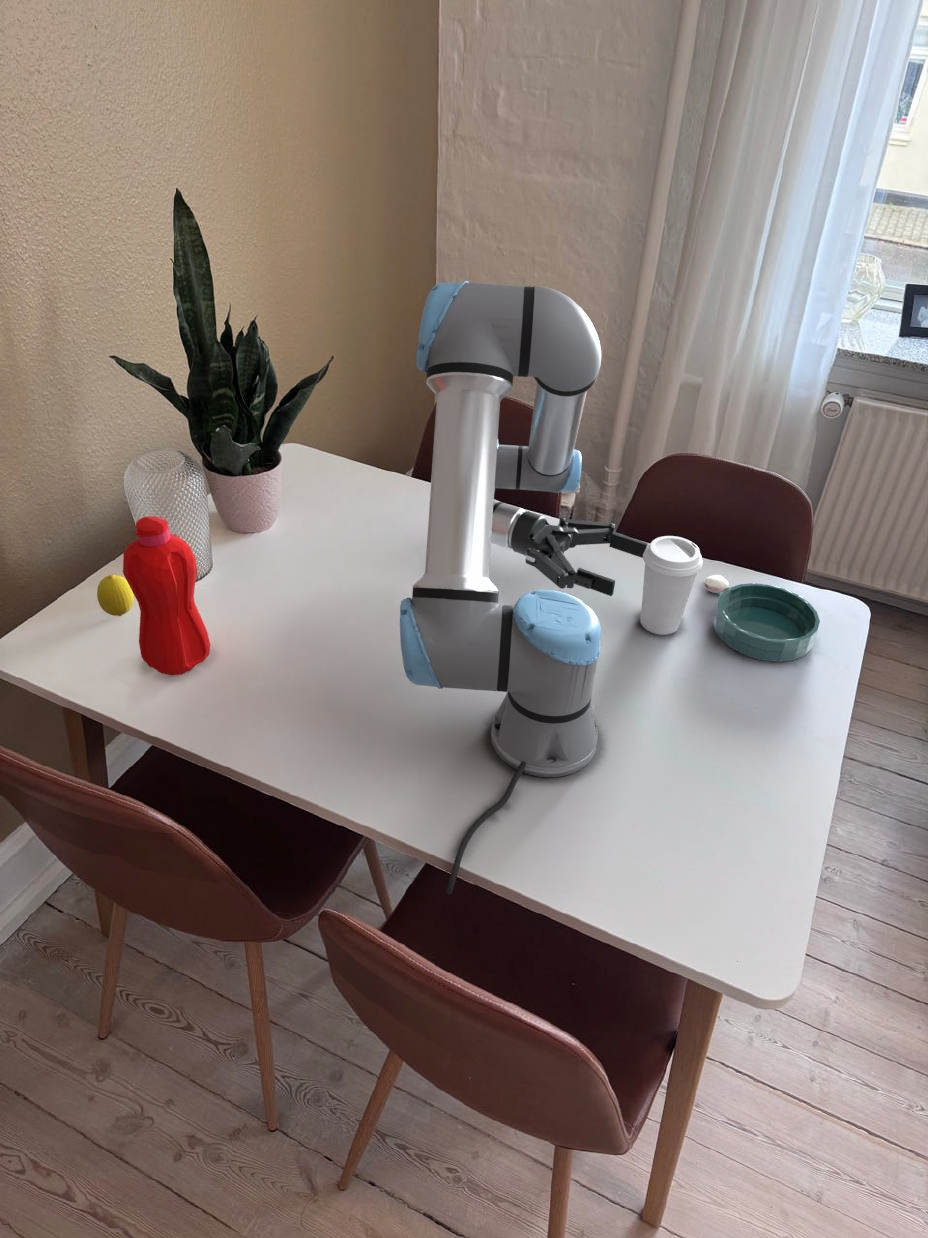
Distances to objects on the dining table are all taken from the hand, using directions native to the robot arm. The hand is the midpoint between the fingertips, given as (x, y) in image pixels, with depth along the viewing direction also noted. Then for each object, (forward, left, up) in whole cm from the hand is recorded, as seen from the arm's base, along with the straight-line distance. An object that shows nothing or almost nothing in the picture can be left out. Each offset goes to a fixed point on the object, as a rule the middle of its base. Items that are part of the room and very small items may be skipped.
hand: (630, 569), depth 155 cm
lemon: (-61, +59, -9) cm, 85 cm away
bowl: (+11, -21, -8) cm, 25 cm away
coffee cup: (+1, -7, -9) cm, 11 cm away
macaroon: (+17, -8, -9) cm, 21 cm away
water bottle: (-60, +43, -9) cm, 74 cm away
